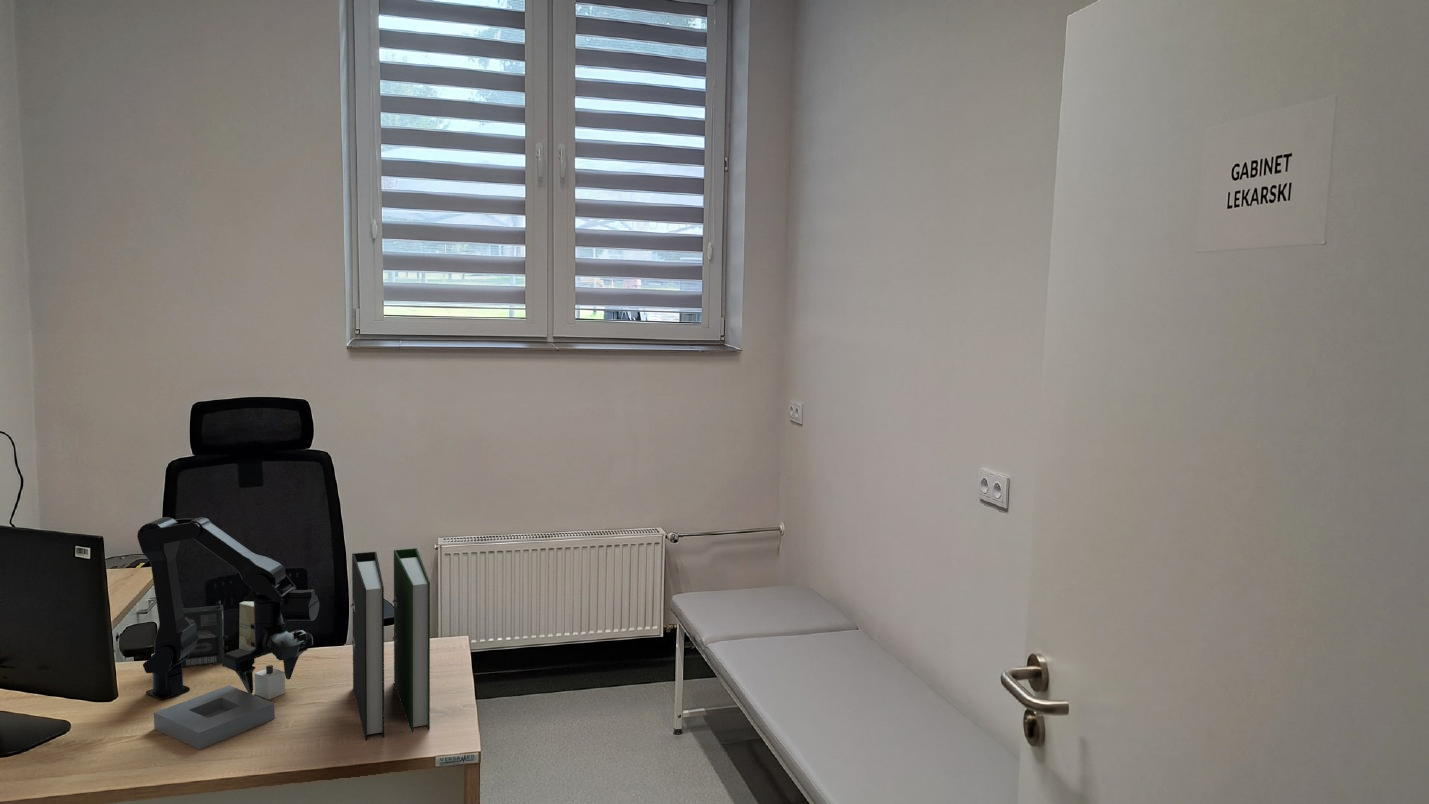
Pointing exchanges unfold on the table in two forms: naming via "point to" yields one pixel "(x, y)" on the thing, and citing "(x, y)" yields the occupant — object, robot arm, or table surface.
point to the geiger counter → (206, 635)
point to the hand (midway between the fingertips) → (269, 686)
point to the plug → (269, 682)
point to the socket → (213, 716)
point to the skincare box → (246, 625)
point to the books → (406, 638)
